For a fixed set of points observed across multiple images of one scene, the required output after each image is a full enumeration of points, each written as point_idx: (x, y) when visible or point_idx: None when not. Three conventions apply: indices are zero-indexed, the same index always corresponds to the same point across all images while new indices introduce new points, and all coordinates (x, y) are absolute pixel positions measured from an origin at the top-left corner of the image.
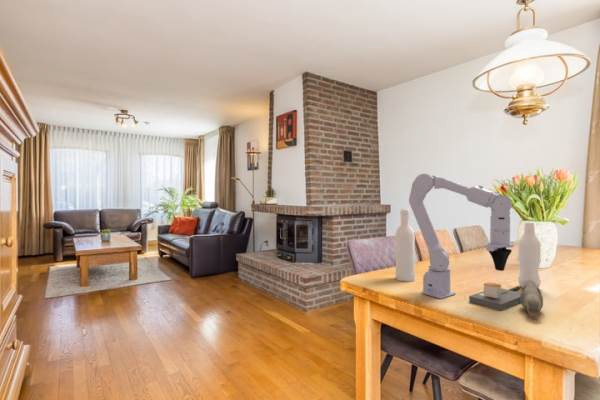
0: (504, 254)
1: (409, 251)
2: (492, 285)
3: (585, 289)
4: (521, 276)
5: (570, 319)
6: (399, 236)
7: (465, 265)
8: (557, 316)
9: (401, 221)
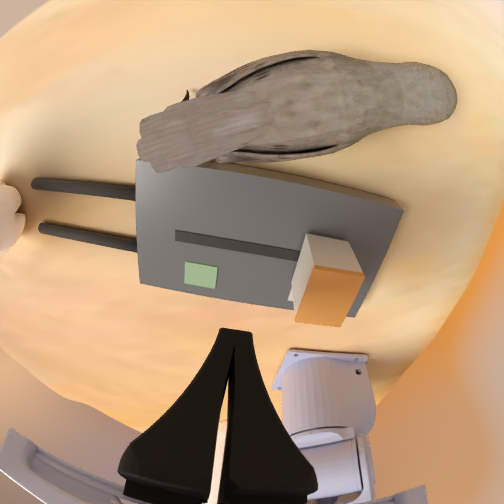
0: (307, 461)
1: None
2: (356, 293)
3: None
4: (2, 244)
5: None
6: None
7: (17, 357)
8: (309, 13)
9: None
